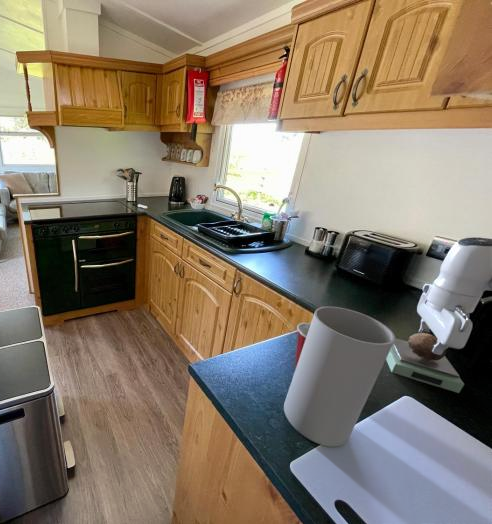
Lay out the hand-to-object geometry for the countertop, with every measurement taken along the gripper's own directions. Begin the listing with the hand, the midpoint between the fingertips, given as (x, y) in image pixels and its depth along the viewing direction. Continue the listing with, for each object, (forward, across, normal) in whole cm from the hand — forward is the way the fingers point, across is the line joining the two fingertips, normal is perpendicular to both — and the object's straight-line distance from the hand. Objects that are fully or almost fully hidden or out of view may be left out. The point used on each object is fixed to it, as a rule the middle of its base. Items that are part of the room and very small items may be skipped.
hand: (428, 343), depth 79 cm
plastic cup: (+8, -19, +28) cm, 35 cm away
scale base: (+8, 0, 0) cm, 8 cm away
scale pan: (+5, 0, 0) cm, 5 cm away
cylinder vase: (+8, -37, +27) cm, 47 cm away
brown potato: (+4, 0, 0) cm, 4 cm away
